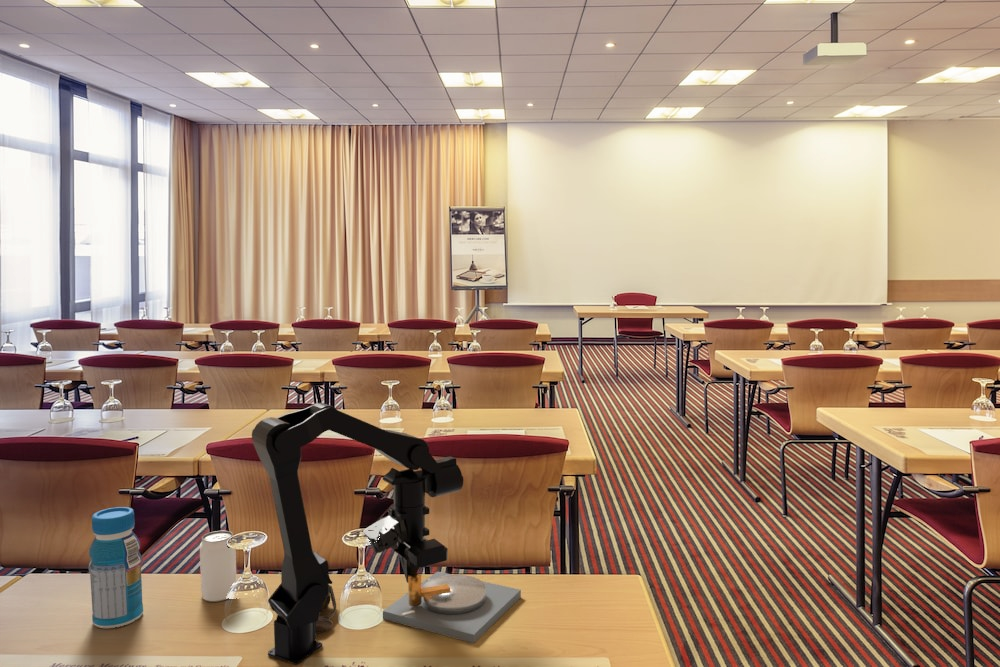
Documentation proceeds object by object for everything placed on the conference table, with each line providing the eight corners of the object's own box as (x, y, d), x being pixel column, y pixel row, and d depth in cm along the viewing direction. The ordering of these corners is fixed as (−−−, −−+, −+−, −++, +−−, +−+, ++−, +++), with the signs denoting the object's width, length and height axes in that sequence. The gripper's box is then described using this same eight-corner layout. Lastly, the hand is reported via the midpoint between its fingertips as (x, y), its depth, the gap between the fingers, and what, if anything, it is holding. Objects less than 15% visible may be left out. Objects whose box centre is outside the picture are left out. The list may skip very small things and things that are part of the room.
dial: (473, 580, 139) (473, 553, 139) (494, 606, 128) (494, 577, 127) (401, 592, 134) (400, 564, 133) (416, 621, 123) (416, 590, 122)
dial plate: (473, 643, 119) (473, 633, 119) (382, 618, 127) (382, 609, 127) (520, 597, 136) (520, 588, 136) (437, 578, 144) (437, 570, 144)
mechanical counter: (349, 573, 134) (298, 563, 134) (337, 598, 121) (280, 587, 121) (341, 610, 134) (290, 600, 134) (328, 639, 121) (271, 627, 121)
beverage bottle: (96, 635, 122) (90, 524, 120) (87, 617, 128) (82, 511, 126) (149, 620, 127) (144, 513, 125) (138, 603, 133) (133, 501, 132)
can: (201, 591, 138) (198, 532, 137) (235, 585, 141) (233, 527, 140) (202, 605, 133) (199, 544, 132) (238, 598, 135) (236, 538, 134)
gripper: (348, 495, 132) (349, 573, 134) (391, 528, 116) (392, 616, 118) (401, 484, 138) (402, 559, 140) (449, 515, 123) (449, 598, 125)
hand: (409, 582), depth 130 cm, fingers closed
